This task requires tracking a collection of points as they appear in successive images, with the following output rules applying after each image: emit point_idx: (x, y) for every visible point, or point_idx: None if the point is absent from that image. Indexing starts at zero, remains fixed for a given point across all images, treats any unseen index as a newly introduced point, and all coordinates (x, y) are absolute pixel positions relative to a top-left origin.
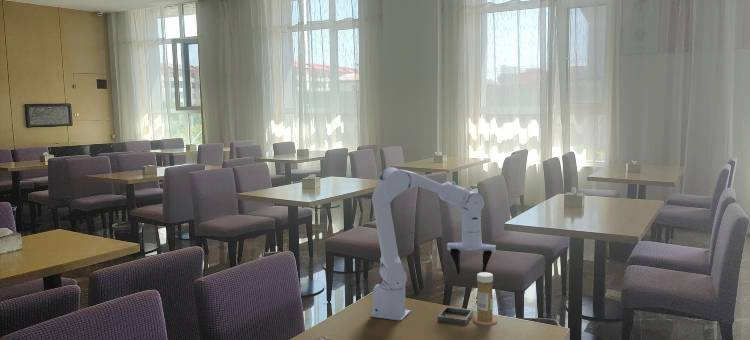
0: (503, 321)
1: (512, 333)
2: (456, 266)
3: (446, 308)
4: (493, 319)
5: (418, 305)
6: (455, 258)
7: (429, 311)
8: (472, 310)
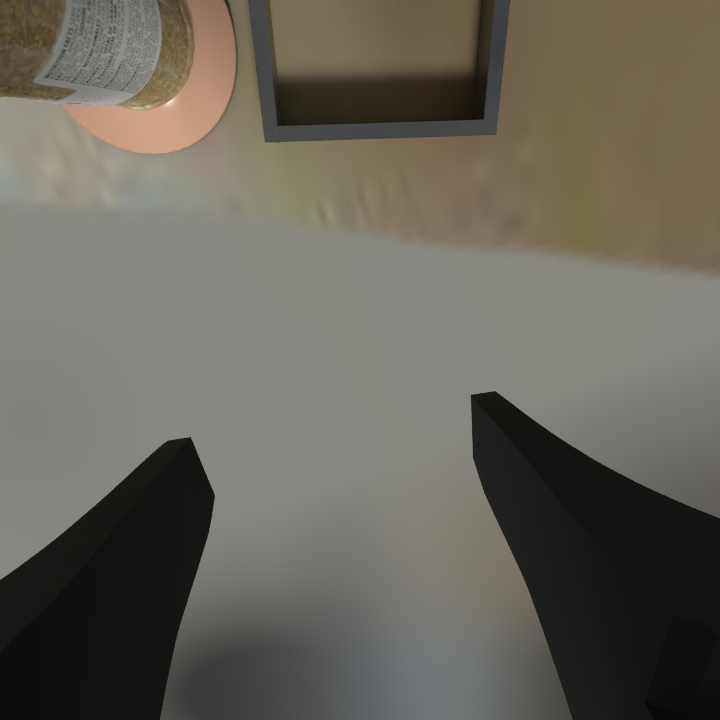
0: None
1: None
2: (548, 437)
3: (483, 105)
4: None
5: (698, 183)
6: (653, 526)
7: (608, 82)
8: (265, 129)
